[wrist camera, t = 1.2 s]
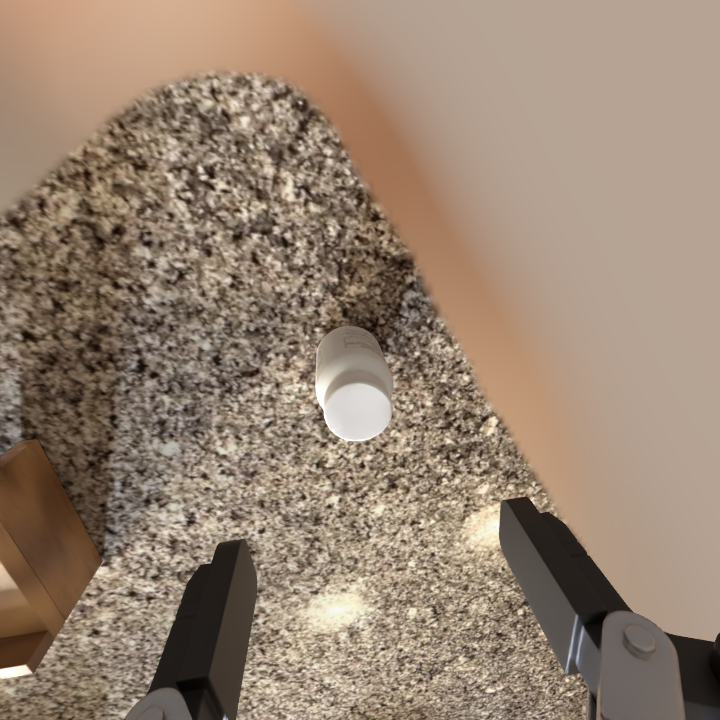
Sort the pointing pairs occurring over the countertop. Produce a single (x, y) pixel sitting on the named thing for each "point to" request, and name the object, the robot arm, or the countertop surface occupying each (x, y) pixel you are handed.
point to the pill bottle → (353, 383)
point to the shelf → (37, 558)
